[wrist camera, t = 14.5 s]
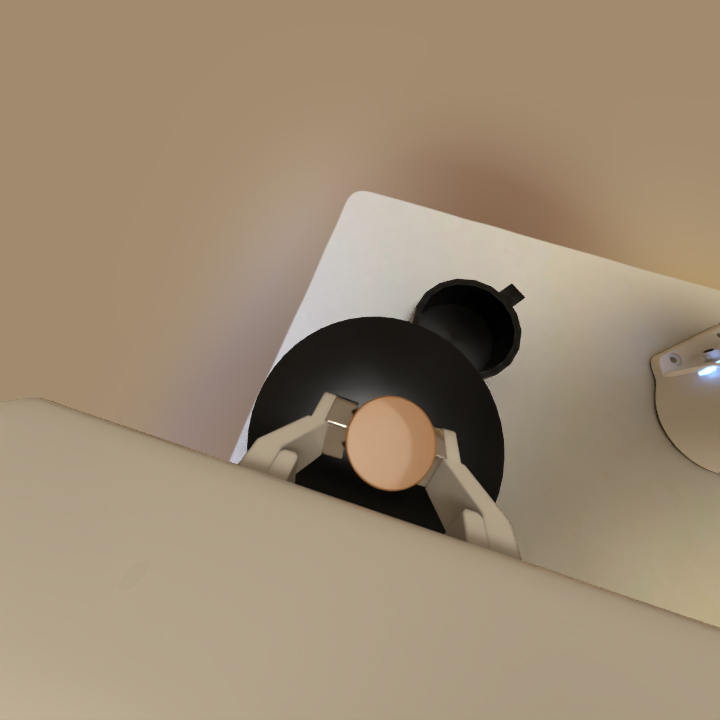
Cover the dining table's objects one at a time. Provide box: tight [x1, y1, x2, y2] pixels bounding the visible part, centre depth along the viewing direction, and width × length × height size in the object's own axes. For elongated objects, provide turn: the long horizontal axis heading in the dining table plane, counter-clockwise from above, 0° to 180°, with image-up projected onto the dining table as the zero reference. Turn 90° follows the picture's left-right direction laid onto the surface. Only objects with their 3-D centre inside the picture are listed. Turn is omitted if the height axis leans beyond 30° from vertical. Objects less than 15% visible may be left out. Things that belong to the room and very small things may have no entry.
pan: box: [409, 279, 525, 380], centre depth 33 cm, size 13×18×6 cm
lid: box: [247, 317, 504, 534], centre depth 11 cm, size 14×14×8 cm
